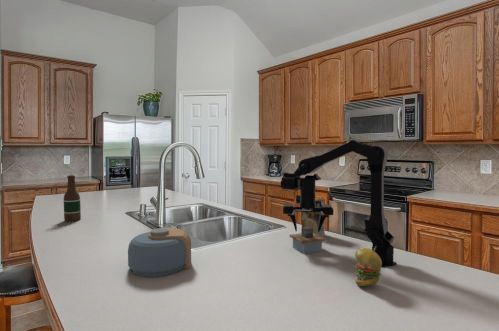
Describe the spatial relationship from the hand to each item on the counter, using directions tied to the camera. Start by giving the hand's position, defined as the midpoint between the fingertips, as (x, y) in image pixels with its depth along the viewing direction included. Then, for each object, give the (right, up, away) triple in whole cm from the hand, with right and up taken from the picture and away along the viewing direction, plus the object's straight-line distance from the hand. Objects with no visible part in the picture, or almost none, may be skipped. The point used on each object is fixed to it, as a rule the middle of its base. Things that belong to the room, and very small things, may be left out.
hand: (307, 231), depth 123 cm
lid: (0, -3, 0) cm, 3 cm away
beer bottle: (-117, -4, +48) cm, 126 cm away
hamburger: (+11, -9, -32) cm, 35 cm away
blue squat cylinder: (-52, -8, -17) cm, 55 cm away
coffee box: (+6, -6, +20) cm, 22 cm away
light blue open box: (0, -7, 0) cm, 7 cm away
